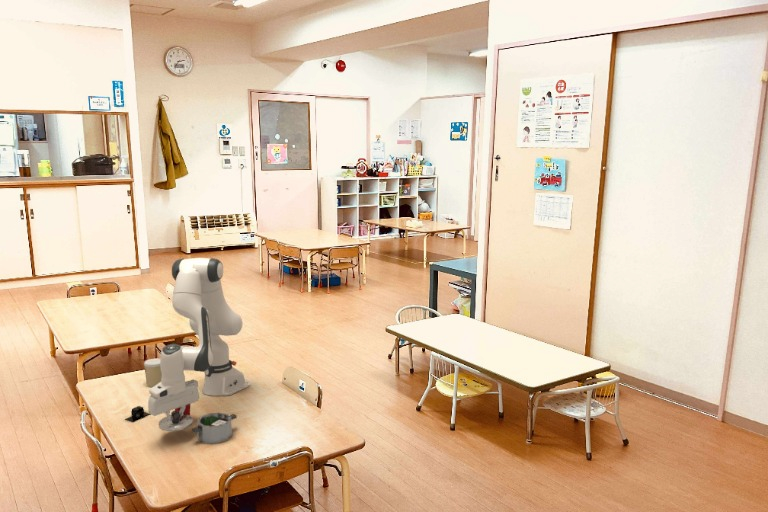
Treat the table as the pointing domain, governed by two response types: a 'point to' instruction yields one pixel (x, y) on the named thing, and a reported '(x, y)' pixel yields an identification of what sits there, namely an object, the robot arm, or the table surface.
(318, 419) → the table surface
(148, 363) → the coffee cup
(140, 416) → the black stepped block
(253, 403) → the table surface
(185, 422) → the lid
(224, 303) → the robot arm
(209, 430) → the pot
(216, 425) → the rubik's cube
